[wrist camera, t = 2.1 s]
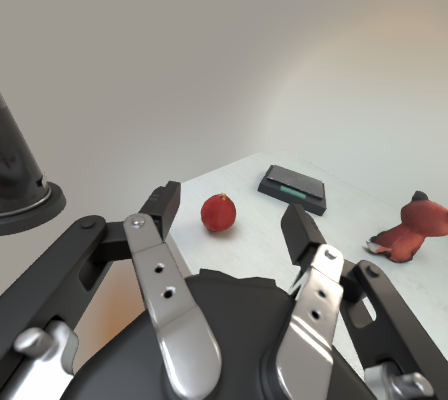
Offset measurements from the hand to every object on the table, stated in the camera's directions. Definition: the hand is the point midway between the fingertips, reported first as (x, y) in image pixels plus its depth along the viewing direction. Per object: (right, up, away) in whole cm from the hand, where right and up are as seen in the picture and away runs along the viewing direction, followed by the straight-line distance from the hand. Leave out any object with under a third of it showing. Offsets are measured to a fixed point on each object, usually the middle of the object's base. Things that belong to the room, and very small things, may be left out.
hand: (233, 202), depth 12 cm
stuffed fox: (+32, -10, +22) cm, 40 cm away
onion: (-2, -5, +18) cm, 19 cm away
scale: (+18, +3, +34) cm, 39 cm away
